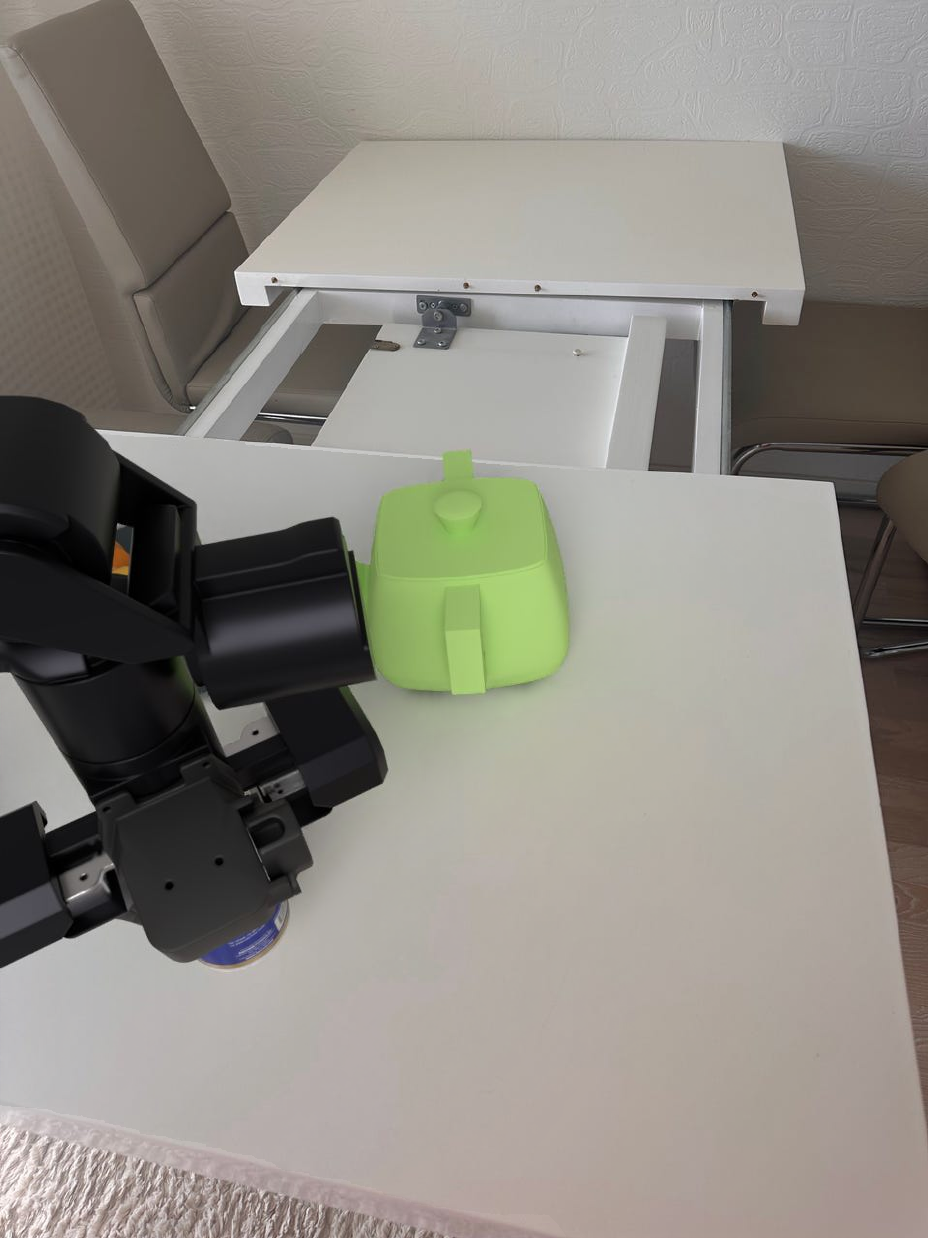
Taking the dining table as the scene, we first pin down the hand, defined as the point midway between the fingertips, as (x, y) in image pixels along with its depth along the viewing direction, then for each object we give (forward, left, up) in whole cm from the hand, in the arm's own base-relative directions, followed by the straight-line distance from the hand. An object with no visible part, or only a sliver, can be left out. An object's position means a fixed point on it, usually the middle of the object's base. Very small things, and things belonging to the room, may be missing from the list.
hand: (224, 897), depth 49 cm
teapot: (+21, +17, -8) cm, 28 cm away
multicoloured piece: (0, +35, -8) cm, 36 cm away
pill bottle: (0, 0, -3) cm, 3 cm away
